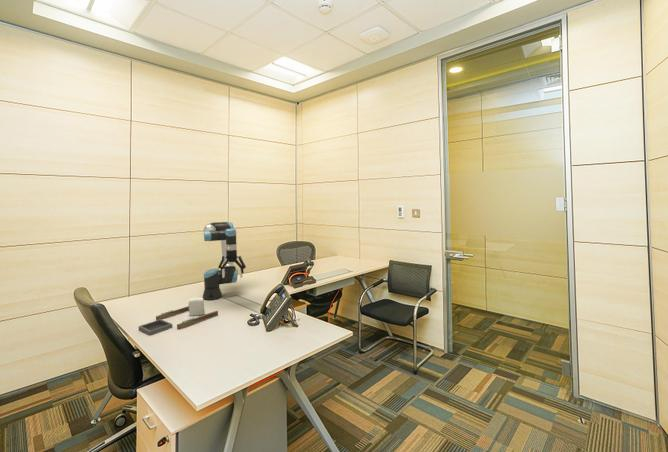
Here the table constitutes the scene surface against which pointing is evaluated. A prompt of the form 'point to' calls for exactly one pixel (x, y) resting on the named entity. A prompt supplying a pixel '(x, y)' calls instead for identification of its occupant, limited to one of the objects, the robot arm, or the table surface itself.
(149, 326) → the tray
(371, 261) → the table surface
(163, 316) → the brown parallel rails
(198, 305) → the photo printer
